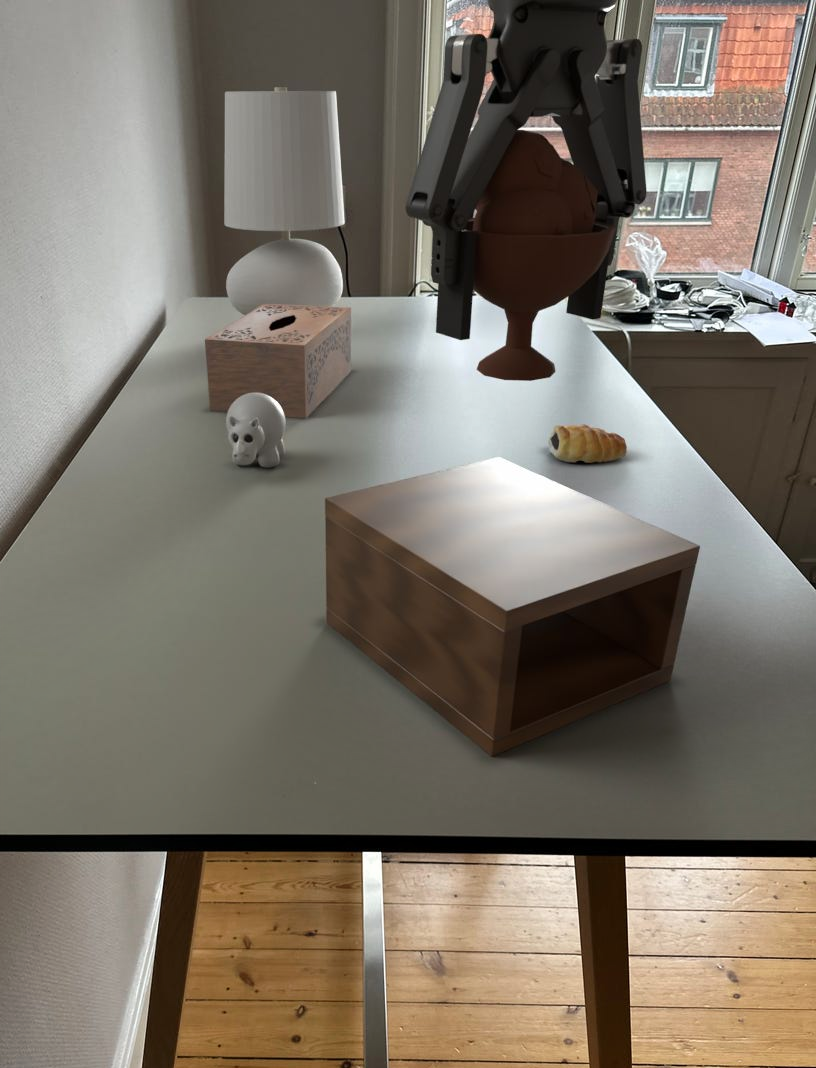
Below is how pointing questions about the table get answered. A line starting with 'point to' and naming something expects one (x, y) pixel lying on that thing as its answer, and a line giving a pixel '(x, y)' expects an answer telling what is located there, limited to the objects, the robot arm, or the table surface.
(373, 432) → the table surface
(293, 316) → the tissue box cover
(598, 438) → the pastry
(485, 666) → the shelf
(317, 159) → the table lamp
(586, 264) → the ice cream bowl
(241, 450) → the chubby cartoon animal
